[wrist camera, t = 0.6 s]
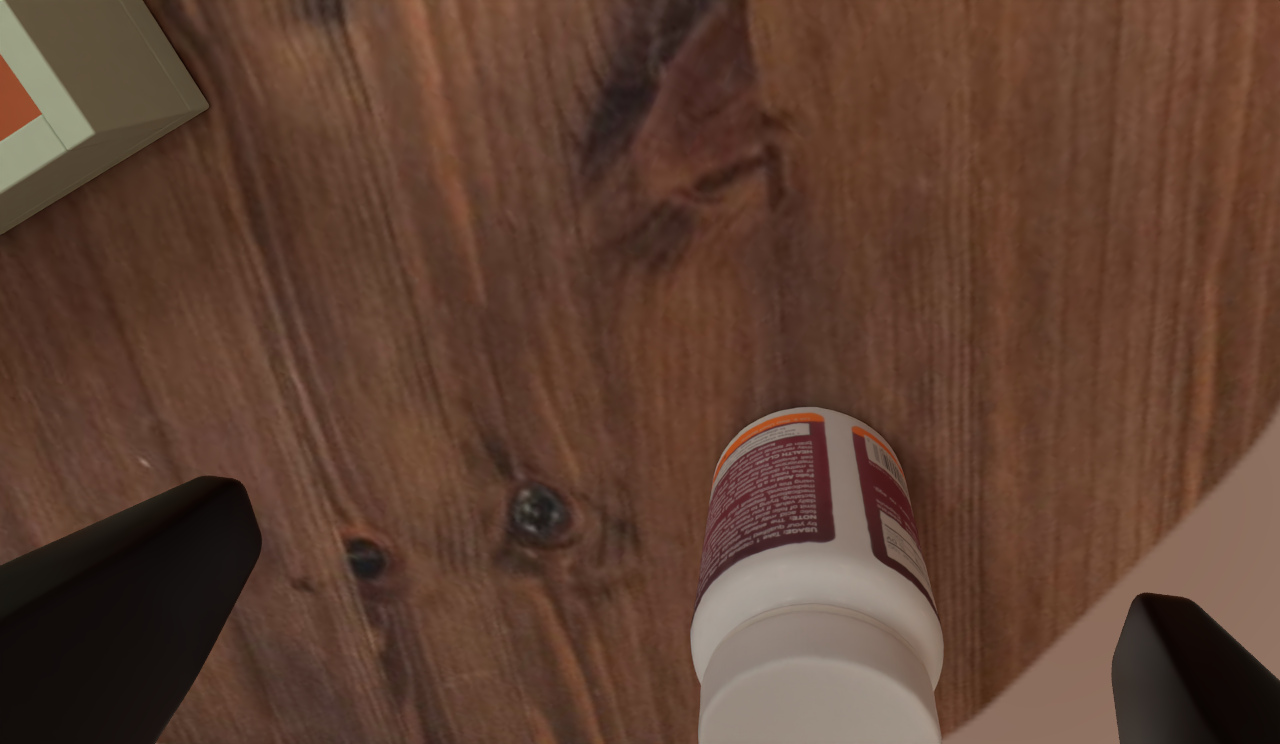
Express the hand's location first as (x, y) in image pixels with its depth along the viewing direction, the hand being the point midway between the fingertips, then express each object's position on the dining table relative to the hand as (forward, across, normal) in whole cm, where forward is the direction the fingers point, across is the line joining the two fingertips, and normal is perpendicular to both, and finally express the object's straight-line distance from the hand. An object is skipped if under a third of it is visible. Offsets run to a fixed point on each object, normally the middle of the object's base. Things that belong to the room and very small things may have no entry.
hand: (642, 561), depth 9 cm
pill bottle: (+12, -1, +8) cm, 14 cm away
